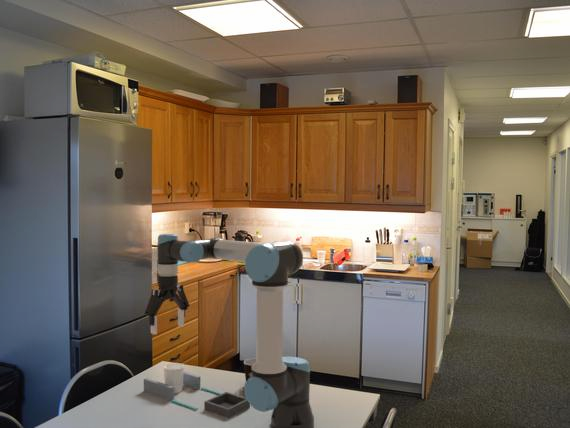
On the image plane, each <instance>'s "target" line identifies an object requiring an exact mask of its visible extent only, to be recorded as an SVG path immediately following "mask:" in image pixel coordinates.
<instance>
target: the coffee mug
mask: <svg viewBox="0 0 570 428" xmlns="http://www.w3.org/2000/svg"><path fill="white" fill-rule="evenodd" d="M255 362H256V358H248V359H247V358H246V359H244V361H243V367H244V368H243V369H244V378H245V382H246V381H247V380H248V379H249V378H251V372H252V365H253V364H254V363H255Z"/></svg>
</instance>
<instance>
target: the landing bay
mask: <svg viewBox="0 0 570 428" xmlns="http://www.w3.org/2000/svg"><path fill="white" fill-rule="evenodd" d="M200 389H201V390H203V391H206V392H209V393H212V394H215V395H217V396H218V395H220V394H222V392H219V391H218V390H217V391H216V390H214V389H211V388H208V387H204V386H201V387H200ZM171 402H172V403H174V404H176V405H179V406H183V407H185V408H188V409H191V410H194V411H197V410H199V408H198V407H196V406H193V405H191V404H187V403H185V402H182V401H179V400H176V399H174V400H171Z"/></svg>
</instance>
